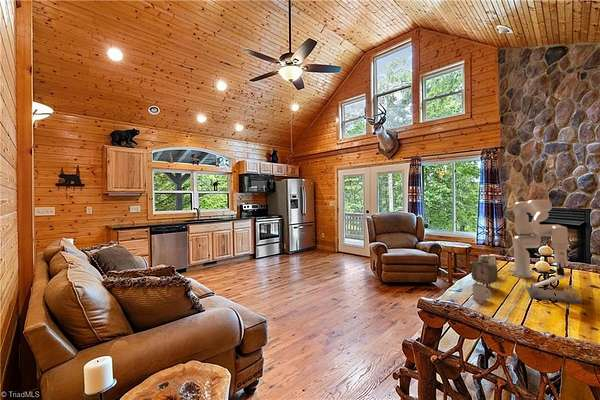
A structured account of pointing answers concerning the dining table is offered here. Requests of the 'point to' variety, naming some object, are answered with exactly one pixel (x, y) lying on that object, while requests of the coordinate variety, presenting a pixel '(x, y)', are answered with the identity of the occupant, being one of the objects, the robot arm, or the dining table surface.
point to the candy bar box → (489, 258)
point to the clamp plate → (562, 296)
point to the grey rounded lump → (480, 292)
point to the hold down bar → (552, 279)
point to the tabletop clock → (484, 271)
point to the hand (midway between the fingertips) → (560, 274)
